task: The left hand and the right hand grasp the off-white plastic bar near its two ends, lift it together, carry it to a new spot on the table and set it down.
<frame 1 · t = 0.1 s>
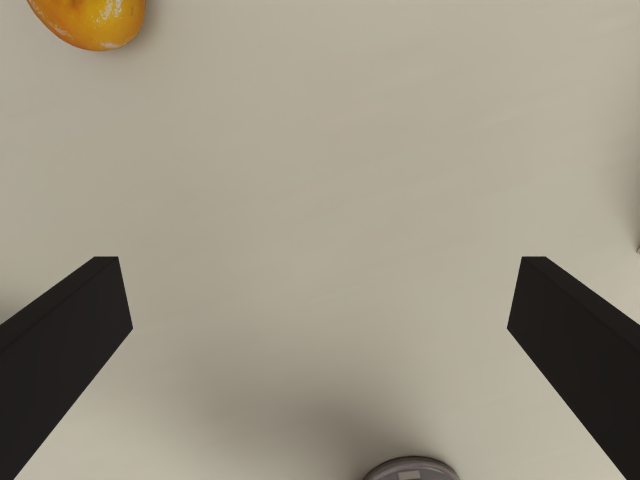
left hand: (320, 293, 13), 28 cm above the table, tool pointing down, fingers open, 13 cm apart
fruit: (108, 0, 34), on the table
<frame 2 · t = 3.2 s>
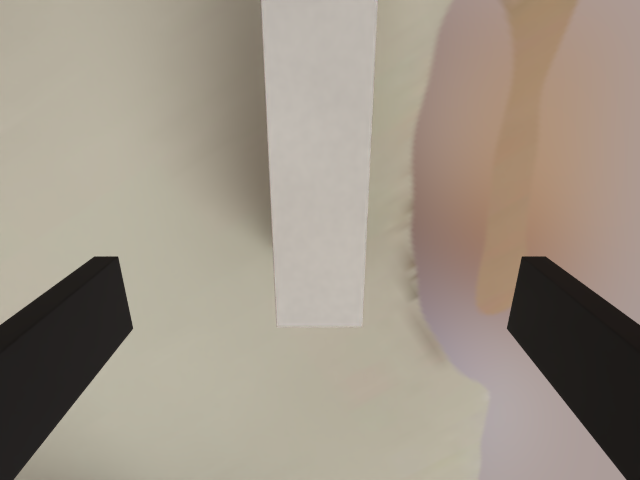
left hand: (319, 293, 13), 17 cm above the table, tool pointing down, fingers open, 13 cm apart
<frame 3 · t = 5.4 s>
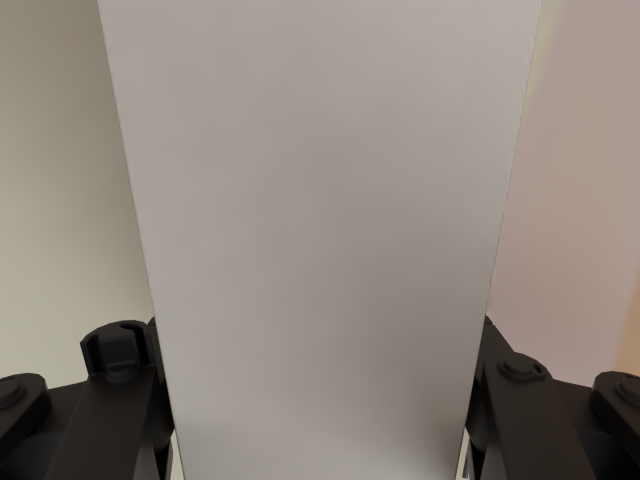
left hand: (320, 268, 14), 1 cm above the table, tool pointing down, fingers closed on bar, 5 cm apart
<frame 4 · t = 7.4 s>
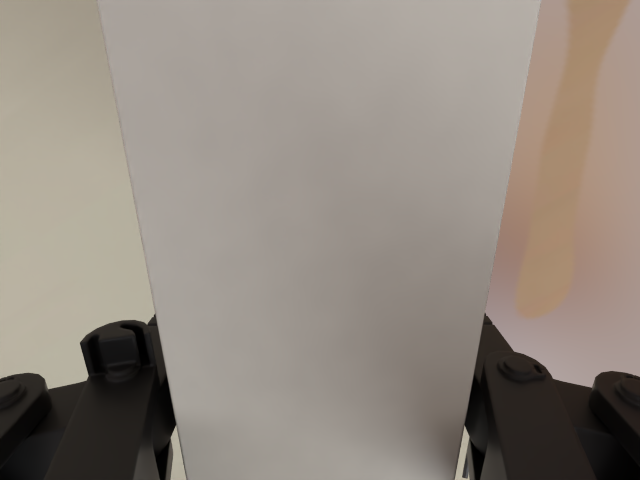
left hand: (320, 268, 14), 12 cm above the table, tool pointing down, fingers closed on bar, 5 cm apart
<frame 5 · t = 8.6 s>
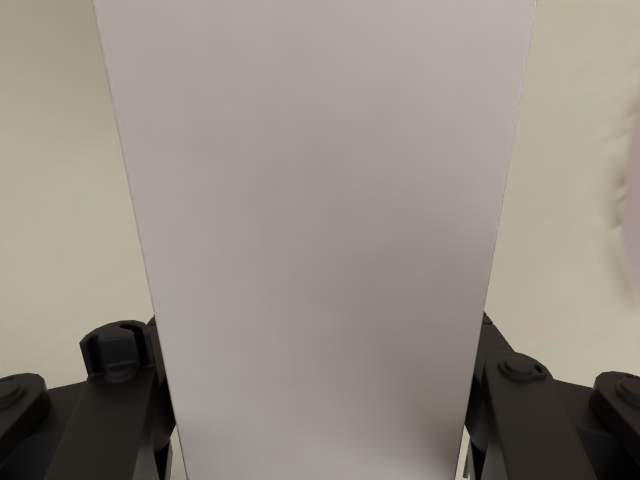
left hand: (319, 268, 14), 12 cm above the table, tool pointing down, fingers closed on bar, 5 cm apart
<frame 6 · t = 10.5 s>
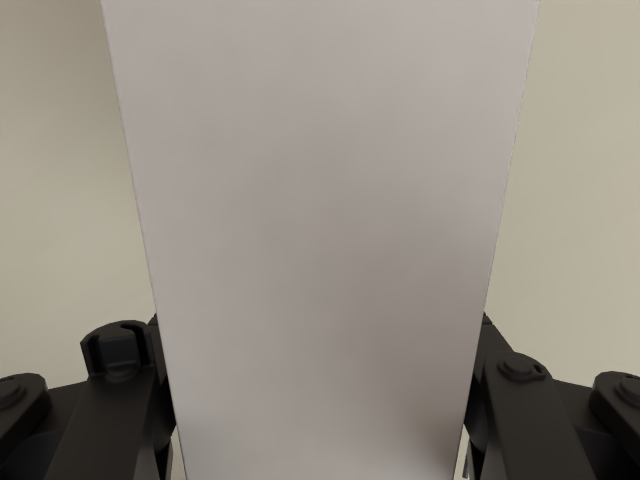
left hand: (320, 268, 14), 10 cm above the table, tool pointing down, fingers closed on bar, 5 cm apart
when the left hand's fingers open (2 cm above the table, at t = 11.8 s): bar stays where it is, on the table.
when the right hand's fingers open (2 cm above the table, at t = 11.8 s): bar stays where it is, on the table.
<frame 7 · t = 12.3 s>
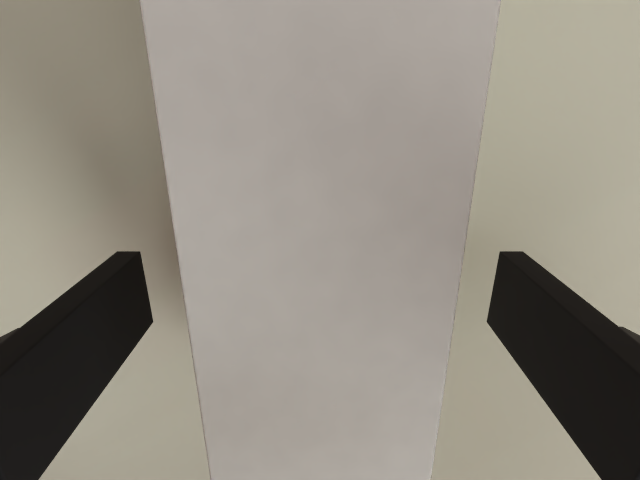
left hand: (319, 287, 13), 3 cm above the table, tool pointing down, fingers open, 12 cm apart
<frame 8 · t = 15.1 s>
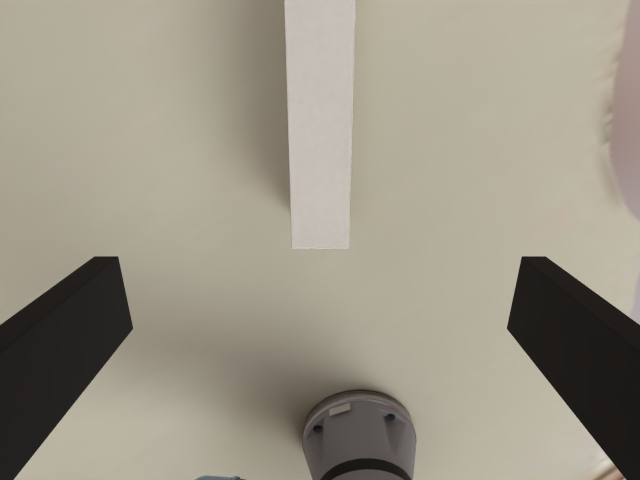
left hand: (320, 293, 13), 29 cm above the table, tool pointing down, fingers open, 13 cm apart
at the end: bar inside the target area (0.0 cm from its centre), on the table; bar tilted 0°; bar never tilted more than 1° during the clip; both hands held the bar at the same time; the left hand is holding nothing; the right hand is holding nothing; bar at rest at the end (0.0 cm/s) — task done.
